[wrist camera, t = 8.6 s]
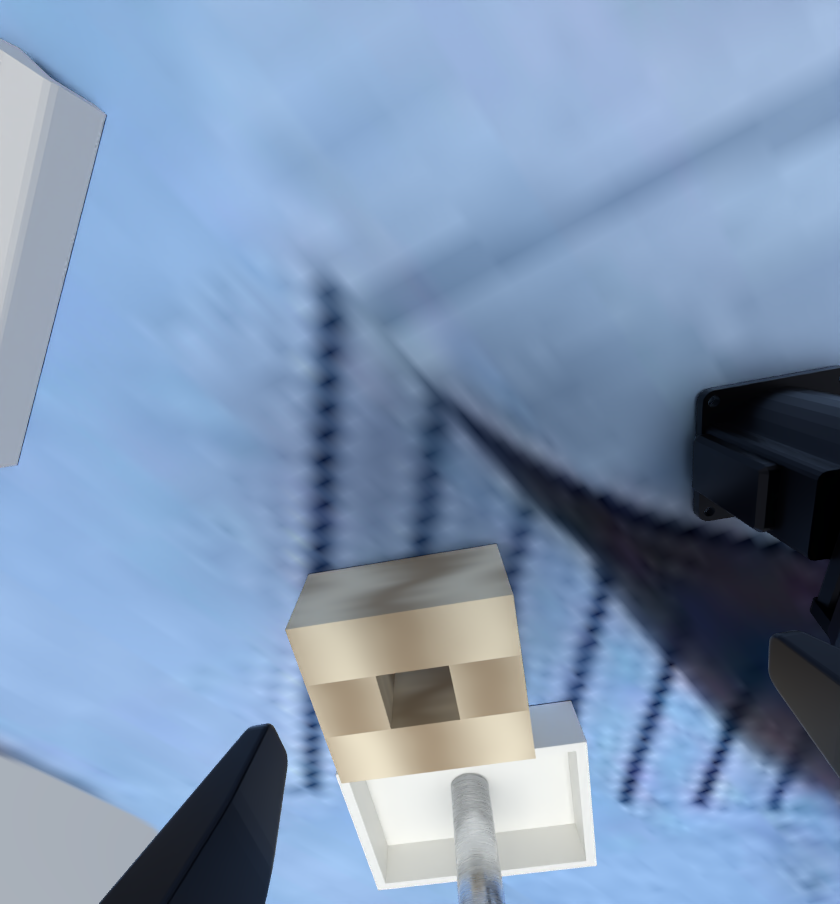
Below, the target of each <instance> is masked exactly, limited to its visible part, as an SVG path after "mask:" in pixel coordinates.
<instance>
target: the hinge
mask: <svg viewBox="0 0 840 904" xmlns="http://www.w3.org/2000/svg"><path fill="white" fill-rule="evenodd" d="M105 118H106V114H105V113H104V112H103V111H101V110H100V109H99V108H98V107H97V106H95V105H94V104H92V103H91V102H89V101H87V100H86V99H84V98H83V97H81V96H79V95H78V94H76V93H75V92H73V91H71V90H70V89H68V88H66V87H65V86H63V85H62V84H60V83H58V82H57V81H55V80H54V79H52V78H51V77H50V76H49V75H47V74H46V73H45V72H44V71H43V70H42V69H41V68H40V67H39V66H38V65H37V64H36V63H35V62H34V61H33V60H31V59H30V58H29V57H28V56H27V55H26V54H25V53H24V52H23V51H22V50H21V49H20V48H18V47H16V46H14V45H12V44H10V43H8V42H6V41H4V40H2V39H0V468H2V467H9V466H15V465H17V463H18V460H19V456H20V452H21V448H22V444H23V440H24V436H25V432H26V428H27V424H28V420H29V416H30V412H31V408H32V405H33V401H34V397H35V393H36V389H37V385H38V381H39V377H40V373H41V369H42V365H43V361H44V357H45V353H46V349H47V346H48V342H49V338H50V334H51V330H52V326H53V322H54V318H55V314H56V310H57V306H58V302H59V298H60V294H61V291H62V287H63V283H64V279H65V275H66V271H67V267H68V263H69V259H70V255H71V251H72V247H73V243H74V239H75V235H76V232H77V228H78V224H79V220H80V216H81V212H82V208H83V204H84V200H85V196H86V192H87V188H88V184H89V180H90V177H91V173H92V169H93V165H94V161H95V157H96V153H97V149H98V145H99V141H100V137H101V133H102V129H103V125H104V121H105Z"/></svg>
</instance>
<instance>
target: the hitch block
mask: <svg viewBox="0 0 840 904" xmlns="http://www.w3.org/2000/svg"><path fill="white" fill-rule="evenodd" d="M285 631H286V633H287V636H288V639H289V642H290V644H291V647H292V650H293V652H294V655H295V658H296V661H297V663H298V666H299V669H300V672H301V674H302V677H303V680H304V682H305V685H306V688H307V691H308V693H309V696H310V699H311V702H312V704H313V707H314V710H315V712H316V715H317V718H318V721H319V723H320V726H321V729H322V732H323V734H324V737H325V740H326V742H327V745H328V748H329V751H330V753H331V756H332V759H333V762H334V764H335V767H336V770H337V772H338V775H339V778H340V781H341V783H350V782H357V781H365V780H373V779H381V778H388V777H396V776H404V775H411V774H419V773H427V772H435V771H442V770H450V769H458V768H466V767H473V766H481V765H489V764H496V763H504V762H512V761H520V760H527V759H535V758H536V755H535V748H534V741H533V734H532V727H531V719H530V712H529V705H528V698H527V691H526V683H525V676H524V669H523V662H522V654H521V647H520V640H519V633H518V626H517V618H516V611H515V604H514V597H513V592H512V589H511V586H510V583H509V580H508V577H507V574H506V571H505V568H504V565H503V562H502V559H501V555H500V552H499V549H498V546H497V544H492V545H486V546H480V547H474V548H468V549H462V550H455V551H449V552H443V553H437V554H431V555H425V556H419V557H412V558H406V559H400V560H394V561H388V562H382V563H375V564H369V565H363V566H357V567H351V568H345V569H338V570H332V571H326V572H320V573H314V574H308V577H307V579H306V582H305V584H304V586H303V589H302V591H301V593H300V596H299V598H298V601H297V603H296V605H295V608H294V610H293V612H292V615H291V617H290V620H289V622H288V624H287V627H286V629H285Z"/></svg>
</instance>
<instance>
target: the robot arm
mask: <svg viewBox="0 0 840 904" xmlns="http://www.w3.org/2000/svg"><path fill="white" fill-rule="evenodd" d="M839 377H840V365H837V366H832V367H826V368H821V369H815V370H809V371H804V372H798V373H793V374H787V375H782V376H776V377H771V378H765V379H759V380H754V381H748V382H743V383H737V384H732V385H726V386H720V387H715V388H709V389H706V390H704V391H703V392H701V393H700V395H699V396H698V399H697V413H696V438H695V439H694V442H693V476H692V487H693V489H694V513H695V514H696V515H697V516H698V517H699V518H701V519H702V520H704V521H711V520H717V519H723V518H730V517H736V518H738V519H740V520H741V521H743V522H744V523H746V524H747V525H749V526H750V527H752V528H753V529H755V530H756V531H758V532H765V531H766V532H768V533H770V534H771V535H773V536H774V537H776V538H777V539H779V540H780V541H782V542H784V543H785V544H787V545H788V546H790V547H791V548H793V549H794V550H796V551H798V552H799V553H801V554H802V555H804V556H805V557H807V558H808V559H810V560H815V561H816V560H822V559H830V562H829V565H828V568H827V571H826V574H825V577H824V580H823V583H822V586H821V589H820V592H819V595H818V597H814V599H813V601H812V605H811V608H810V612H811V614H812V615H813V616H814V618H815V619H816V620H817V622H818V623H819V625H820V626H821V627H822V629H823V630H824V631H825V633H826V634H827V636H828V637H829V639H830V642H831V644H828V643H826V642H824V641H822V640H820V639H817V638H815V637H813V636H811V635H809V634H806V633H804V632H801V631H788V632H782V633H777V634H773V635H772V636H771V638H770V641H769V661H768V671H769V675H770V678H771V680H772V682H773V684H774V686H775V687H776V689H777V690H778V691H779V693H780V694H781V696H782V697H783V699H784V700H785V701H786V703H787V704H788V706H789V707H790V709H791V710H792V711H793V713H794V714H795V716H796V717H797V719H798V720H799V721H800V723H801V724H802V726H803V727H804V729H805V730H806V731H807V733H808V734H809V736H810V737H811V739H812V740H813V741H814V743H815V744H816V746H817V747H818V749H819V750H820V751H821V753H822V754H823V756H824V757H825V759H826V760H827V761H828V763H829V764H830V766H831V767H832V769H833V770H834V771H835V773H836V774H837V775H838V777H839V778H840V380H839ZM712 396H714V401H713V402H712V403H711V404H708V401H709V399H710V398H711V397H712ZM708 507H709V510H708V511H707V512H704V511H705V509H706V508H708ZM287 762H288V761H287V754H286V751H285V748H284V746H283V744H282V742H281V740H280V738H279V736H278V734H277V732H276V730H275V728H274V726H273V725H271V724H268V723H267V724H261V725H256V726H252V727H250V728H248V729H247V730H246V731H245V732H244V733H243V734H242V735H241V737H240V738H239V739H238V740H237V741H236V743H235V744H234V745H233V746H232V747H231V748H230V750H229V751H228V752H227V753H226V754H225V755H224V757H223V758H222V759H221V760H220V761H219V763H218V764H217V765H216V766H215V767H214V768H213V770H212V771H211V772H210V773H209V774H208V776H207V777H206V778H205V779H204V780H203V781H202V783H201V784H200V785H199V786H198V787H197V789H196V790H195V791H194V792H193V793H192V794H191V796H190V797H189V798H188V799H187V800H186V801H185V803H184V804H183V805H182V806H181V807H180V809H179V810H178V811H177V812H176V813H175V814H174V816H173V817H172V818H171V819H170V820H169V822H168V823H167V824H166V825H165V826H164V827H163V829H162V830H161V831H160V832H159V833H158V834H157V836H156V837H155V838H154V839H153V840H152V842H151V843H150V844H149V845H148V846H147V848H146V849H145V850H144V851H143V852H142V853H141V855H140V856H139V857H138V858H137V859H136V860H135V862H134V863H133V864H132V865H131V866H130V867H129V869H128V870H127V871H126V872H125V873H124V875H123V876H122V877H121V878H120V879H119V881H118V882H117V883H116V884H115V885H114V886H113V888H112V889H111V890H110V891H109V892H108V893H107V895H106V896H105V897H104V898H103V900H101V902H100V903H99V904H265V901H266V897H267V893H268V888H269V883H270V878H271V874H272V868H273V862H274V856H275V850H276V843H277V836H278V829H279V822H280V815H281V808H282V801H283V794H284V787H285V780H286V773H287Z"/></svg>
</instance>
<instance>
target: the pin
mask: <svg viewBox="0 0 840 904" xmlns="http://www.w3.org/2000/svg"><path fill="white" fill-rule="evenodd" d="M451 795H452V810H453V826H454V841H455V856H456V871H457V886H458V902H459V904H505V897H504V890H503V883H502V876H501V869H500V862H499V855H498V848H497V841H496V834H495V827H494V820H493V813H492V806H491V799H490V792H489V785H488V782H487V780H486V779H485V778H484V777H482V776H480V775H477V774H465V775H461V776H459V777H457V778H456V779H454V780H453V782H452V784H451Z"/></svg>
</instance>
